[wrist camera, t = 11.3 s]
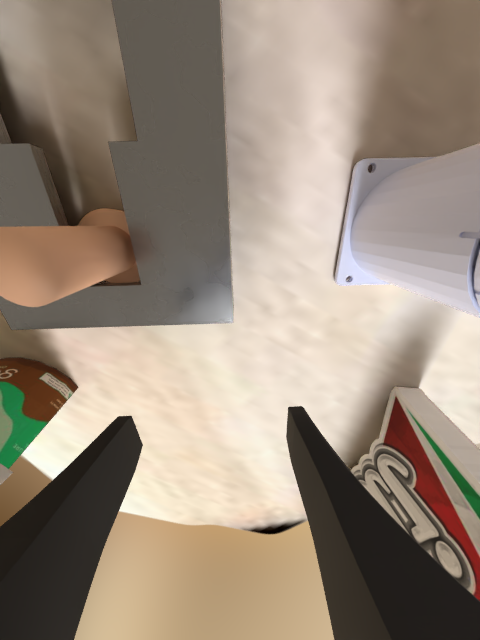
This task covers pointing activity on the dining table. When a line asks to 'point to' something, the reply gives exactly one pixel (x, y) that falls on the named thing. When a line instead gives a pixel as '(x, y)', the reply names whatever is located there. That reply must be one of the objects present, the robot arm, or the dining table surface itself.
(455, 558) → the decorative sign
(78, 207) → the dining table surface
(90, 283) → the peg
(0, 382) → the food container
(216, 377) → the dining table surface
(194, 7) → the keyhole plate
